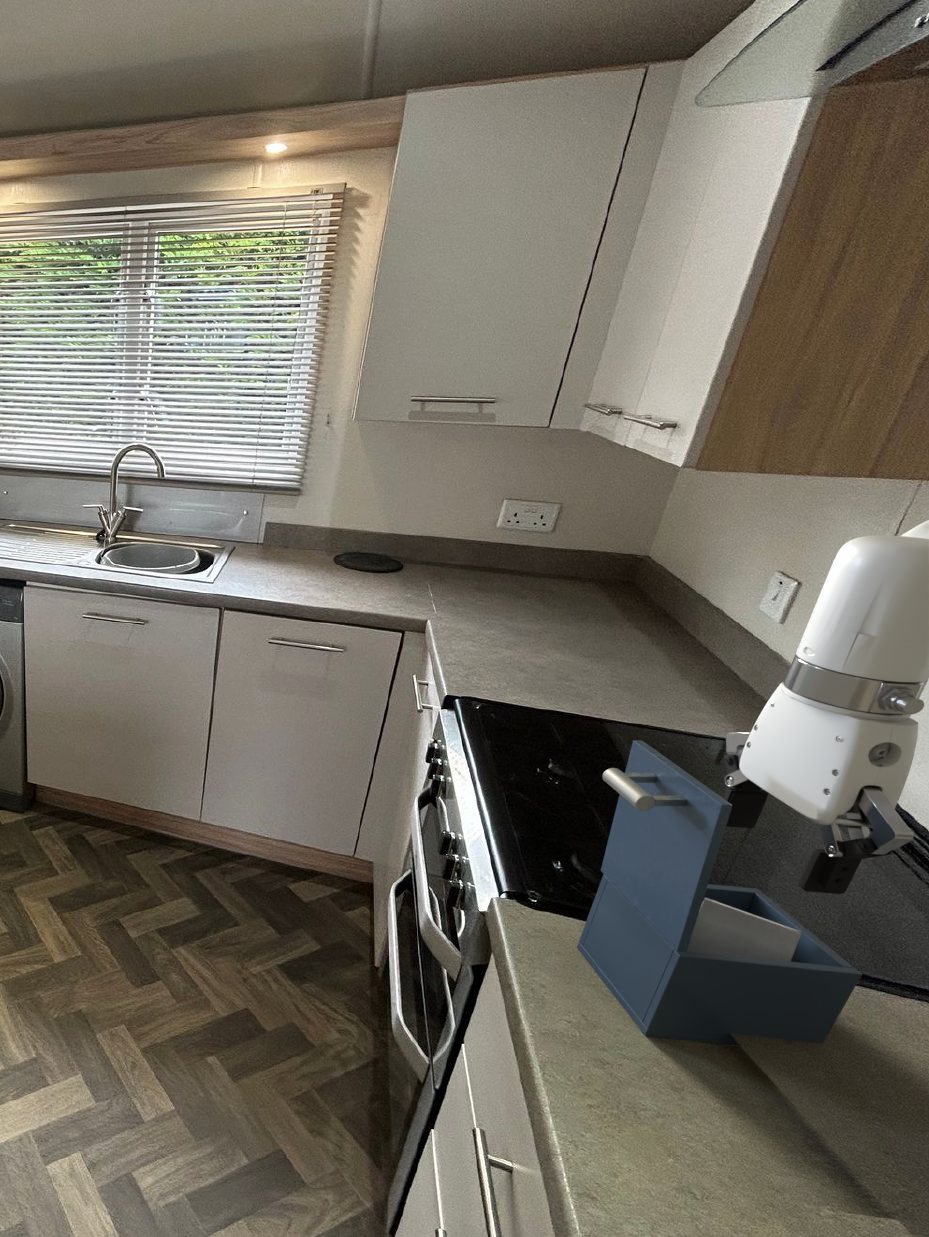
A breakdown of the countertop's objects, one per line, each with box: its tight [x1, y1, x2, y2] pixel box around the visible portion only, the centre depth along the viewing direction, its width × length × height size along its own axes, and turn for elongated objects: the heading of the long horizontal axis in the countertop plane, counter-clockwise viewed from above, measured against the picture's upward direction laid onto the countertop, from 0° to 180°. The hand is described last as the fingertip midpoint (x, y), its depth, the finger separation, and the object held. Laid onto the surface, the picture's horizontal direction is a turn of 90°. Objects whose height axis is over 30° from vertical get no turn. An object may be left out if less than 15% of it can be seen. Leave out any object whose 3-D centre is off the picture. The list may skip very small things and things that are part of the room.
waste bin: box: [576, 874, 862, 1048], centre depth 71 cm, size 15×12×10 cm
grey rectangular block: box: [687, 897, 802, 962], centre depth 70 cm, size 4×7×10 cm, turn 47°
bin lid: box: [600, 739, 732, 952], centre depth 68 cm, size 15×12×5 cm
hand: (774, 855), depth 66 cm, fingers open, 9 cm apart
